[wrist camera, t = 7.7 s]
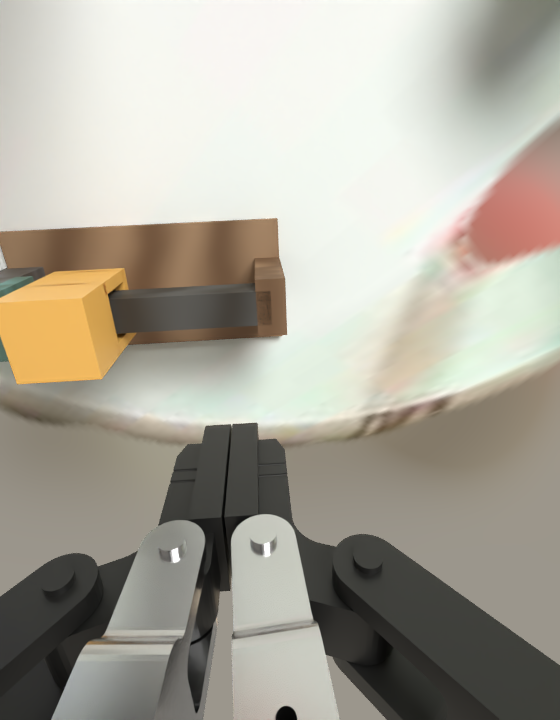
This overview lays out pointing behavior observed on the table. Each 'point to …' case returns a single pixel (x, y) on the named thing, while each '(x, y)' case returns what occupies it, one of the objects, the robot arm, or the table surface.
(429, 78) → the table surface
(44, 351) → the yellow slider block
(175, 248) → the wooden slider rail stand
